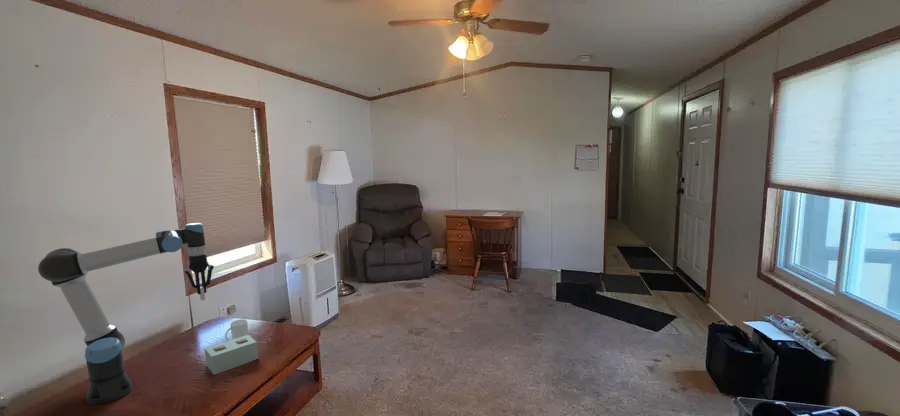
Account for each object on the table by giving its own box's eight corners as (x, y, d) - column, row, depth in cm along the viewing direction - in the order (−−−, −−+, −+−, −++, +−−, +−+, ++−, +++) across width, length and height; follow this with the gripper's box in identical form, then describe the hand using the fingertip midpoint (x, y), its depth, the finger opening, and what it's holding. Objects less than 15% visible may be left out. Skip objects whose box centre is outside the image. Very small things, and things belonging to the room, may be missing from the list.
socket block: (213, 374, 189) (211, 356, 188) (206, 365, 198) (204, 348, 196) (258, 358, 203) (256, 341, 202) (250, 350, 211) (248, 334, 210)
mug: (229, 350, 212) (227, 329, 210) (223, 346, 218) (220, 325, 216) (252, 342, 221) (250, 321, 219) (245, 338, 226) (243, 317, 225)
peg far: (240, 358, 201) (238, 343, 200) (237, 355, 203) (236, 340, 202) (249, 355, 203) (247, 340, 202) (246, 353, 206) (244, 338, 205)
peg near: (218, 366, 194) (216, 350, 193) (215, 363, 197) (213, 347, 195) (227, 363, 196) (225, 347, 195) (224, 360, 199) (222, 345, 198)
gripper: (183, 258, 194) (189, 305, 198) (214, 252, 203) (219, 298, 207) (180, 255, 200) (186, 301, 203) (210, 250, 209) (215, 294, 212)
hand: (202, 299), depth 205 cm, fingers closed
